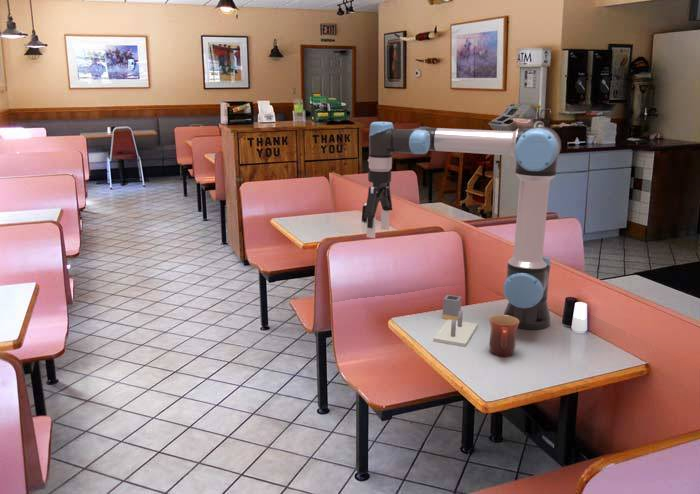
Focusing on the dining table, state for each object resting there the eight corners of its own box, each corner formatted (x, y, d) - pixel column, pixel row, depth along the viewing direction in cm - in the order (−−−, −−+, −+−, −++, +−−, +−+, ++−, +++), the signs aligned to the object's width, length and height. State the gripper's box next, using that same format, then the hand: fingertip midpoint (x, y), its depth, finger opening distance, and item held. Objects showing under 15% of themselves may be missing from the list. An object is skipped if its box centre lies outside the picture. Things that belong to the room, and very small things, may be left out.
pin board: (477, 326, 208) (478, 309, 206) (465, 346, 192) (466, 328, 190) (447, 322, 212) (448, 305, 210) (433, 341, 195) (434, 322, 194)
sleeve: (460, 316, 217) (461, 296, 216) (456, 320, 213) (458, 301, 211) (446, 313, 219) (447, 294, 218) (442, 318, 215) (443, 298, 213)
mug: (486, 345, 193) (488, 313, 191) (515, 348, 192) (518, 316, 189) (486, 361, 182) (489, 327, 179) (518, 364, 180) (521, 330, 178)
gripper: (382, 165, 220) (380, 224, 225) (354, 173, 198) (353, 239, 203) (402, 166, 217) (400, 227, 223) (377, 175, 195) (375, 242, 200)
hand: (378, 233), depth 213 cm, fingers open, 13 cm apart
